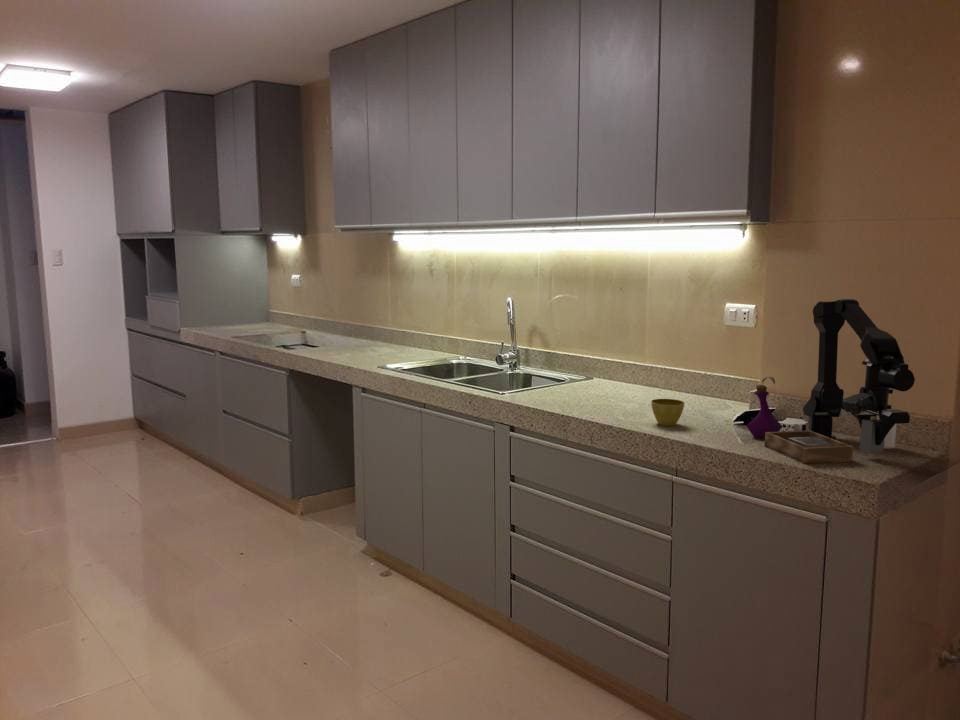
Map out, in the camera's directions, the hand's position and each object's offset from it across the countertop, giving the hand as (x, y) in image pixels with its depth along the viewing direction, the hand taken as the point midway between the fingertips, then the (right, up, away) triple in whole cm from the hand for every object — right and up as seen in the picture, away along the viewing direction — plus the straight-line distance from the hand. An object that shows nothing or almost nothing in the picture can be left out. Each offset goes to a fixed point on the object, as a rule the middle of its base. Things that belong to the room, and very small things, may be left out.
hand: (871, 442), depth 203 cm
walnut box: (-15, -3, +5) cm, 16 cm away
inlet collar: (-15, -4, +4) cm, 16 cm away
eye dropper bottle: (+10, -3, +13) cm, 16 cm away
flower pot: (-45, +2, +38) cm, 59 cm away
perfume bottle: (-20, -1, +23) cm, 30 cm away
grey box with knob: (0, -2, 0) cm, 2 cm away
